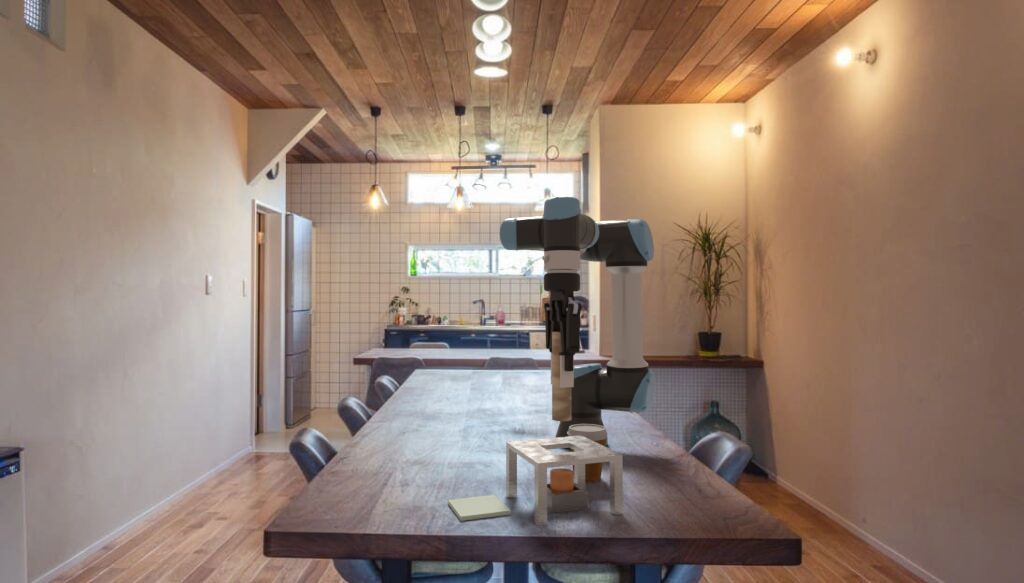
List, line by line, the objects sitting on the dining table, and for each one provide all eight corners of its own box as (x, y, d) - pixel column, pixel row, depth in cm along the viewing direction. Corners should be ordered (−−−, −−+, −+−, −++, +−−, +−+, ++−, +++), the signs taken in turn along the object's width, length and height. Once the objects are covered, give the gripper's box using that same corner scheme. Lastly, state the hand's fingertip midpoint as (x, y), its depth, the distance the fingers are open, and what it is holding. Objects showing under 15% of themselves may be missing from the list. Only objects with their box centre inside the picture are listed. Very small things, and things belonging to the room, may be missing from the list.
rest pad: (494, 498, 126) (494, 494, 126) (510, 514, 117) (510, 510, 117) (448, 503, 123) (448, 500, 123) (460, 520, 113) (460, 516, 113)
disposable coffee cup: (610, 475, 143) (610, 425, 143) (603, 486, 134) (603, 433, 134) (572, 471, 146) (572, 422, 146) (562, 482, 137) (562, 430, 137)
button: (567, 496, 126) (567, 467, 126) (577, 503, 121) (577, 473, 121) (546, 498, 124) (546, 469, 124) (556, 506, 120) (556, 476, 120)
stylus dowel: (566, 416, 125) (566, 331, 126) (574, 420, 122) (574, 332, 122) (548, 418, 124) (549, 331, 124) (556, 421, 120) (556, 332, 121)
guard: (581, 486, 134) (581, 435, 134) (622, 513, 117) (622, 454, 117) (506, 495, 128) (506, 441, 128) (538, 525, 111) (538, 463, 111)
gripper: (529, 273, 130) (529, 381, 130) (562, 270, 114) (562, 392, 114) (561, 274, 133) (561, 379, 132) (597, 270, 117) (597, 390, 116)
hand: (562, 385), depth 123 cm, fingers closed on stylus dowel, 4 cm apart
